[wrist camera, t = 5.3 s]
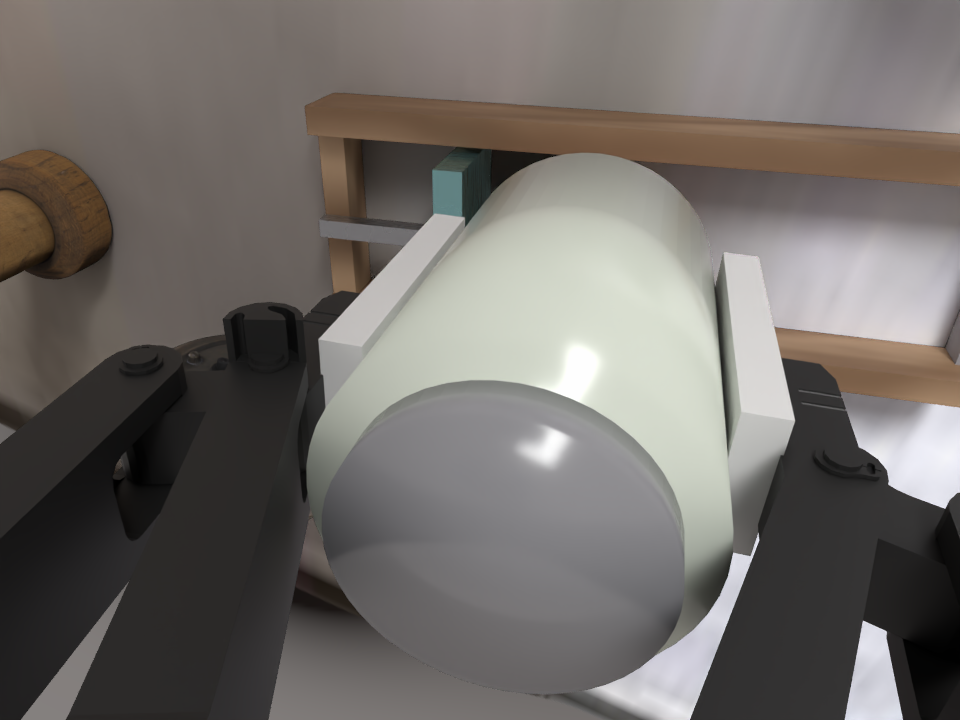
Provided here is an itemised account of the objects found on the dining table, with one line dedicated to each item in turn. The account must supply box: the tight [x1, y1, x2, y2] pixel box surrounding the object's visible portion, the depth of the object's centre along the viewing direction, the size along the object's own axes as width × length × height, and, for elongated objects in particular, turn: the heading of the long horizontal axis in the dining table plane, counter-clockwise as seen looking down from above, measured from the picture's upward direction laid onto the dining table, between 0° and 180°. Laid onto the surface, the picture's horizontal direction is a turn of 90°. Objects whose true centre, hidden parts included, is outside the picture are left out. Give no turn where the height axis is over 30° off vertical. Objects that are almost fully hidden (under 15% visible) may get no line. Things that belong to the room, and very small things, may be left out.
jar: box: [306, 153, 733, 694], centre depth 14 cm, size 6×6×10 cm
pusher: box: [319, 147, 491, 246], centre depth 33 cm, size 7×7×5 cm
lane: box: [305, 93, 960, 407], centre depth 32 cm, size 10×29×3 cm, turn 89°
